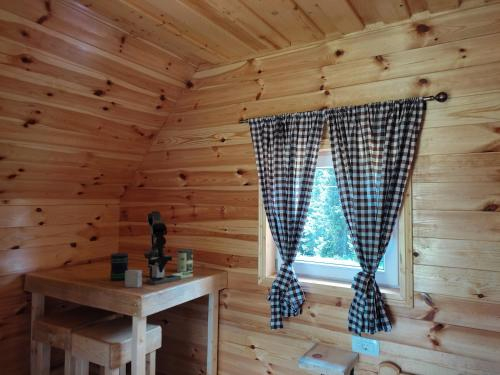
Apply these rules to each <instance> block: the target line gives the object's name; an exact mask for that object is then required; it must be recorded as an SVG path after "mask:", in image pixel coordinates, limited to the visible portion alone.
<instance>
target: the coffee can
mask: <svg viewBox="0 0 500 375" xmlns="http://www.w3.org/2000/svg"><path fill="white" fill-rule="evenodd" d="M176 251H177V252H176V253H177V255H176V256H177V258H176V259H177V263H176V264H177V267H176V268H177V269H176V270H177V272H176V273H181V272H185V273H192V272H193V271H194V267H193V263H194V259H193V258H194V256H193V255H194V254H193V253H194V250H193V249H190V248H185V249H183V248H182V249H177V250H176Z"/></svg>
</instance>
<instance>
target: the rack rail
mask: <svg viewBox="0 0 500 375" xmlns="http://www.w3.org/2000/svg"><path fill="white" fill-rule="evenodd" d="M172 274H173V273H171V274H166V275H164V277H158V278H156V277H155V278H151V277H149V278H146V279H145V283H146V284H149V285H153V286H158V285H163V284H167V283H173V282H178V281H181V280H182V279H181V276H176V275H172Z"/></svg>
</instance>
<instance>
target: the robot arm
mask: <svg viewBox="0 0 500 375" xmlns="http://www.w3.org/2000/svg"><path fill="white" fill-rule="evenodd" d="M146 222H147V226H148V227H149V229H150V249H149V250H147V251H145V252H143V256H144V259H145V260H147V263H146V266H147V268H149V273H148V274H149V275H147V276H146V277H147V278H155V277H152V265H155V262H158V263H159V268H160V273H162V271H163V269H164V270H165V267H166V265H167V264H168V262H169V261H173V256H172V255H171V254H166V253H164V249H166V246H165V245H166V244H167V239H166V238H165V236H167V234H168V229H167V225H166V224H165V222H164V221H163V220H162V213H160V211H159V210H152V211H150V213H148V214H147V216H146Z"/></svg>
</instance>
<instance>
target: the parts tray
mask: <svg viewBox="0 0 500 375" xmlns="http://www.w3.org/2000/svg"><path fill="white" fill-rule="evenodd" d="M171 274H172V275H176V276H181V280H183V279H188V278H193V277H194V274H193V273H191V272H189V273H185V272H181V273H179V272H175V273H171Z"/></svg>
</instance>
